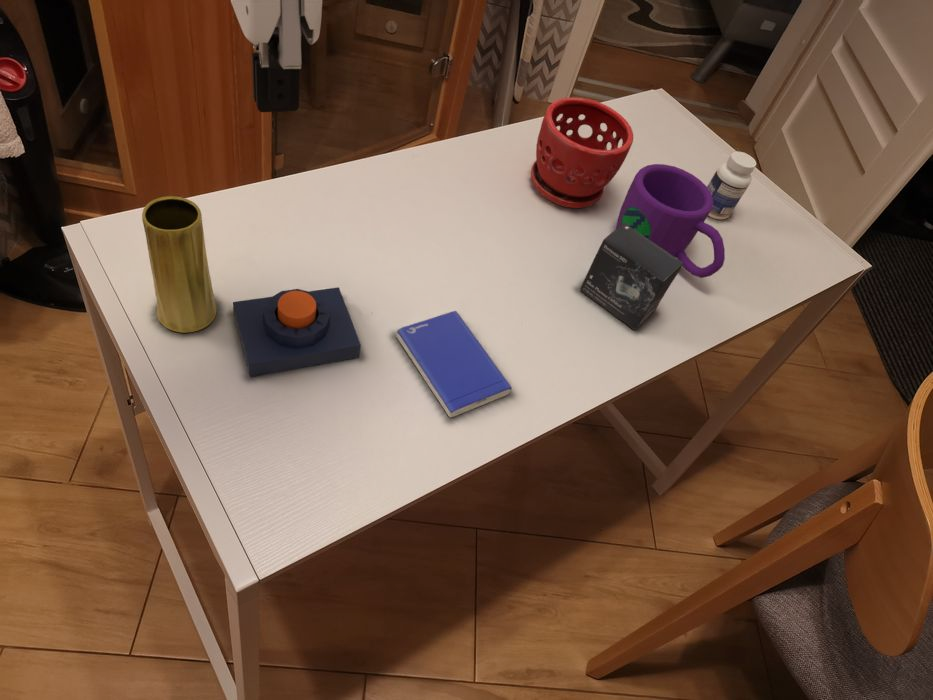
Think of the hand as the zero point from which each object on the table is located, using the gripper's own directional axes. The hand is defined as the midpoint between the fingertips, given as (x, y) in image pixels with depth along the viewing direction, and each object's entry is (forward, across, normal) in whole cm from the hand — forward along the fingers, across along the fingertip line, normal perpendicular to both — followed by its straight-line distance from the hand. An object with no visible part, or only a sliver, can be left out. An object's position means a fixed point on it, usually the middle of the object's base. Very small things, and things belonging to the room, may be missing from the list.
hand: (276, 105), depth 54 cm
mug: (+29, -4, +56) cm, 63 cm away
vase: (+29, -6, -9) cm, 31 cm away
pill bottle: (+29, -12, +72) cm, 79 cm away
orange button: (+25, 0, +2) cm, 26 cm away
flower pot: (+29, -20, +48) cm, 60 cm away
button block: (+29, 0, +2) cm, 29 cm away
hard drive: (+29, +8, +18) cm, 35 cm away
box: (+29, +3, +44) cm, 53 cm away
